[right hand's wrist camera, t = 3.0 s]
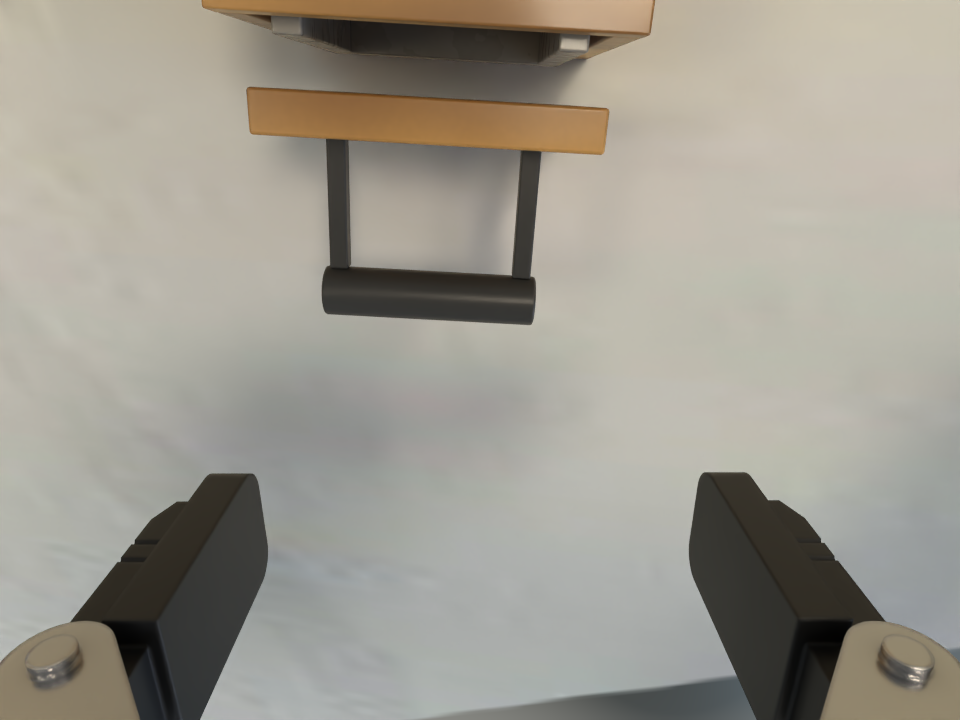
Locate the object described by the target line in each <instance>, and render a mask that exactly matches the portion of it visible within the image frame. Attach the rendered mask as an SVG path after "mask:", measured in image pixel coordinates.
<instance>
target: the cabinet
mask: <svg viewBox="0 0 960 720" xmlns="http://www.w3.org/2000/svg"><path fill="white" fill-rule="evenodd" d="M654 5H655V0H202V6H203V8H205V9H208V10H211V11H214V12H219V13H221V14H225V15H228V16H231V17H234V18H237V19H240V20H243V21H246V22H249V23H252V24H255V25H258V26H261V27H264V28H267V29H271V30H272V27H271V15H273V16H289V17H305V18H321V19H337V20H353V21H370V22H386V23H402V24H418V25H434V26H450V27H467V28H483V29H499V30H515V31H531V32H547V33H564V34H580V35H590V41H589V50H588V52H587V53H585V54H583V55H581V56H578V57H576V58H578V59H588V58H591V57H593V56H596V55H598V54H601V53H603V52H606V51H609V50H611V49H614V48H616V47H619V46H622V45H624V44H627V43H629V42H632V41H635V40H637V39H640V38H643V37H646V36H648V35H650V33H651V26H652V19H653V12H654Z"/></svg>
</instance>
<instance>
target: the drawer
mask: <svg viewBox="0 0 960 720" xmlns="http://www.w3.org/2000/svg"><path fill="white" fill-rule="evenodd" d="M271 27H272V33H274V34H276V35H279V36H282V37H286V38H289V39H292V40H295V41H299V42H302V43H305V44H308V45H311V46H315V47H318V48H321V49H324V50H328V51H331V52H334V53H341V54H357V55H374V56H390V57H407V58H423V59H439V60H456V61H472V62H488V63H505V64H521V65H538V66H554V67H556V66H558V65H560V64H562V63H565V62H567V61H569V60H571V59H574V58H576V57H578V56H581V55H583V54H585V53H587V52H588V50H589V41H590V35H580V34H564V33H547V32H531V31H515V30H499V29H483V28H467V27H450V26H434V25H418V24H402V23H386V22H370V21H353V20H337V19H321V18H305V17H289V16H273V15H271ZM247 103H248V116H249V130H250V133H251V134H253V135H270V136H287V137H304V138H321V139H326V149H327V179H328V209H329V239H330V266H327V267H326V269H325V272H324V275H323V281H322V303H323V308H324V311H325V313H327V314H336V315H354V316H373V317H391V318H410V319H428V320H447V321H465V322H484V323H502V324H521V325H531V324H532V322H533V319H534V312H535V300H536V282H535V278H534V277H530V274H531V263H532V252H533V240H534V229H535V217H536V206H537V194H538V183H539V172H540V160H541V151H542V152H560V153H577V154H594V155H602V154H603V153H604V151H605V143H606V134H607V126H608V118H609V109H607V108H597V107H584V106H571V105H555V104H538V103H521V102H505V101H488V100H471V99H455V98H438V97H421V96H405V95H388V94H371V93H355V92H338V91H321V90H302V89H282V88H263V87H248V88H247ZM348 140H355V141H372V142H389V143H406V144H423V145H440V146H457V147H474V148H491V149H508V150H521V159H520V172H519V185H518V198H517V211H516V224H515V237H514V251H513V264H512V276H511V275H492V274H474V273H456V272H438V271H420V270H402V269H384V268H366V267H349V266H350V265H351V242H350V194H349V147H348Z"/></svg>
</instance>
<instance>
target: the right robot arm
mask: <svg viewBox="0 0 960 720" xmlns="http://www.w3.org/2000/svg"><path fill="white" fill-rule="evenodd" d="M267 560H268V544H267V537H266V530H265V524H264V517H263V511H262V504H261V497H260V491H259V485H258V481H257V478H256V476H255V475H254V474H209V475H208V476H207V477H206V478H205V479H204V480H203V482H202V483H201V485H200V486H199V487H198V489H197V490H196V491H195V493H194V494H193V496H192V497H191V498H190V500H189V501H188V502H176V503H174V504H173V505H172V506H170V507H169V508H167V509H166V510H164V511H163V512H161V513H160V514H158V515H157V516H156V517H154V518H153V519H151V520H150V522H149V523H148V524H147V525H146V527H145V528H144V529H143V531H142V532H141V533H140V534H139V536H138V537H137V538H136V539H135V544H134V545H131V546H130V547H129V548H128V550H127V551H126V552H125V553H124V555H123V556H122V557H121V562H117V564H116V565H115V566H114V567H113V569H112V570H111V571H110V572H109V574H108V575H107V576H106V577H105V579H104V580H103V581H102V583H101V584H100V585H99V586H98V588H97V589H96V590H95V591H94V593H93V594H92V595H91V597H90V598H89V599H88V600H87V602H86V603H85V604H84V605H83V607H82V608H81V609H80V610H79V612H78V613H77V614H76V616H75V617H74V618H73V619H72V621H71V622H70V623H66V624H62V625H58V626H55V627H53V628H50V629H47V630H45V631H43V632H41V633H38V634H37V635H35V636H33V637H31V638H29V639H28V640H26V641H25V642H23V643H22V644H20V645H19V646H17V647H16V648H15V649H14V650H12V651H11V652H10V653H9V654H8V655H7V656H6V657H5V658H4V659H3V660H2V661H1V662H0V720H200V718H201V716H202V714H203V712H204V709H205V707H206V705H207V703H208V701H209V698H210V696H211V694H212V692H213V690H214V687H215V685H216V683H217V681H218V679H219V676H220V674H221V672H222V670H223V668H224V665H225V663H226V661H227V659H228V657H229V654H230V652H231V650H232V648H233V646H234V643H235V641H236V639H237V637H238V635H239V632H240V630H241V628H242V626H243V624H244V621H245V619H246V617H247V615H248V613H249V610H250V608H251V606H252V604H253V601H254V599H255V597H256V595H257V593H258V590H259V588H260V586H261V584H262V582H263V579H264V576H265V572H266V567H267ZM689 560H690V567H691V572H692V575H693V578H694V581H695V583H696V585H697V588H698V590H699V592H700V594H701V596H702V599H703V601H704V603H705V605H706V608H707V610H708V612H709V614H710V617H711V619H712V621H713V623H714V625H715V628H716V630H717V632H718V634H719V637H720V639H721V641H722V643H723V646H724V648H725V650H726V652H727V654H728V657H729V659H730V661H731V663H732V666H733V668H734V670H735V672H736V675H737V677H738V679H739V681H740V683H741V686H742V688H743V690H744V692H745V695H746V697H747V699H748V701H749V704H750V706H751V708H752V710H753V712H754V715H755V717H756V719H757V720H960V662H959V661H958V660H957V659H956V658H955V657H954V656H953V655H952V654H951V653H950V652H949V651H948V650H946V649H945V648H944V647H943V646H941V645H940V644H938V643H937V642H935V641H934V640H932V639H931V638H929V637H927V636H925V635H923V634H922V633H919V632H917V631H915V630H913V629H910V628H907V627H905V626H902V625H898V624H894V623H890V622H886V621H885V620H884V619H883V618H882V616H881V615H880V614H879V613H878V611H877V610H876V609H875V607H874V606H873V605H872V604H871V602H870V601H869V600H868V598H867V597H866V596H865V595H864V593H863V592H862V591H861V589H860V588H859V587H858V586H857V584H856V583H855V582H854V581H853V579H852V578H851V577H850V575H849V574H848V573H847V572H846V570H845V569H844V568H843V566H842V565H841V564H840V563H839V561H835V559H834V555H833V554H832V552H831V551H830V550H829V549H828V547H827V546H826V545H825V543H821V538H820V537H819V536H818V534H817V533H816V532H815V531H814V529H813V528H812V527H811V525H810V524H809V523H808V522H807V520H806V519H805V518H804V517H802V516H801V515H799V514H798V513H797V512H795V511H794V510H792V509H791V508H789V507H788V506H786V505H785V504H784V503H782V502H781V501H779V500H767V498H766V497H765V495H764V494H763V493H762V491H761V490H760V489H759V487H758V486H757V484H756V483H755V482H754V480H753V479H752V478H751V476H750V475H749V474H747V473H745V472H705V473H703V474H702V475H701V476H700V479H699V482H698V488H697V494H696V501H695V508H694V514H693V521H692V528H691V535H690V541H689Z"/></svg>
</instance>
